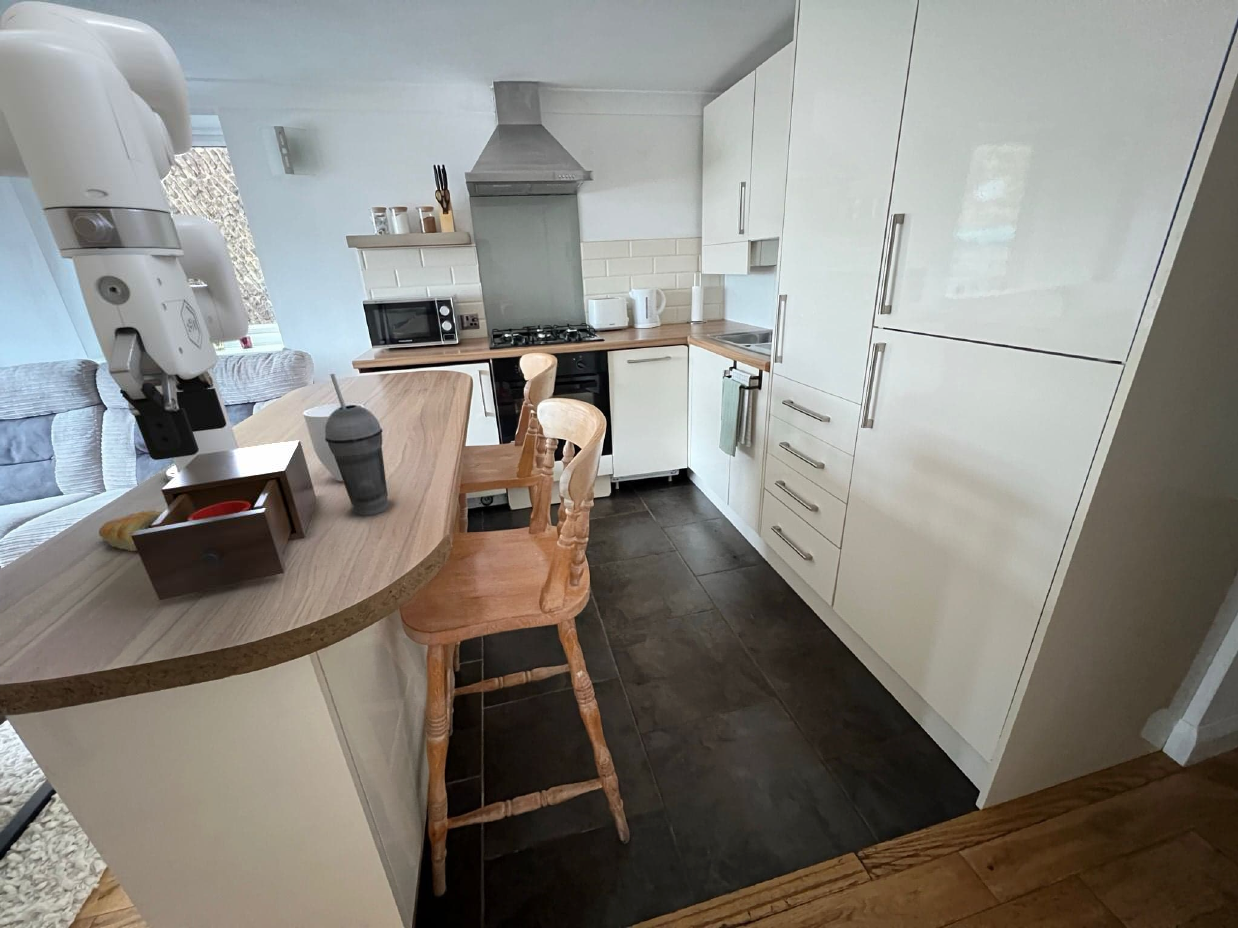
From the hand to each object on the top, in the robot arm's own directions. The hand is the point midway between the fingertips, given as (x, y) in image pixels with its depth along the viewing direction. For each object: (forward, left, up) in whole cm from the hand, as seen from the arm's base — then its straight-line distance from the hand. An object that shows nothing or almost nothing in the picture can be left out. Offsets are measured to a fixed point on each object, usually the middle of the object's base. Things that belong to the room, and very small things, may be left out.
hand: (193, 441), depth 47 cm
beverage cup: (-20, +11, -18) cm, 29 cm away
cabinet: (-21, -3, -18) cm, 28 cm away
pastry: (-24, -17, -18) cm, 35 cm away
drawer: (-9, -3, -17) cm, 20 cm away
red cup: (-9, -3, -16) cm, 19 cm away
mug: (-37, +8, -18) cm, 42 cm away
